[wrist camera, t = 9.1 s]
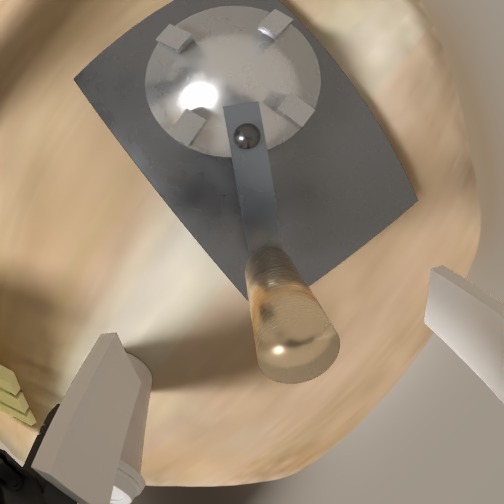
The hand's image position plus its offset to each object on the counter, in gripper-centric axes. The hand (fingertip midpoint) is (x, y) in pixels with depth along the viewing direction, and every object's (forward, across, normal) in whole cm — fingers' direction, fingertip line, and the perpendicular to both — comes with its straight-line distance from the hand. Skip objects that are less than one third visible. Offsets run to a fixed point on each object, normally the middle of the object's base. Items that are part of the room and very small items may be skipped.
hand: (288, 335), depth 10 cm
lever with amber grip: (+11, 0, +8) cm, 14 cm away
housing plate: (+14, +1, +9) cm, 16 cm away
